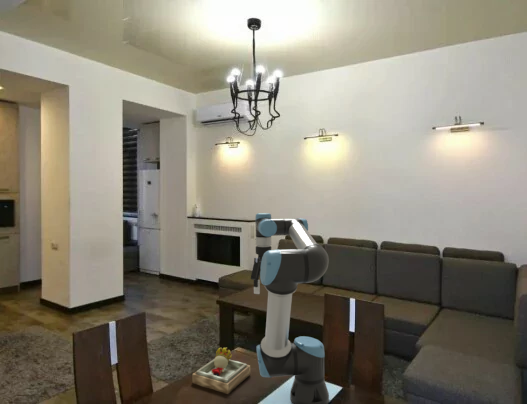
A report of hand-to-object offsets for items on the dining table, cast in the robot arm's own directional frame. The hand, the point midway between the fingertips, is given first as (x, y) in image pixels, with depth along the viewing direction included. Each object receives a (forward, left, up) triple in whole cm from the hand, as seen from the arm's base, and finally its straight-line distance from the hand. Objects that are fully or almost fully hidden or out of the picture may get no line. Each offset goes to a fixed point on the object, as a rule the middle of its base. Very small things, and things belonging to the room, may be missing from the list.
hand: (263, 290), depth 171 cm
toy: (+9, +27, -32) cm, 42 cm away
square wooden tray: (+9, +22, -35) cm, 42 cm away
